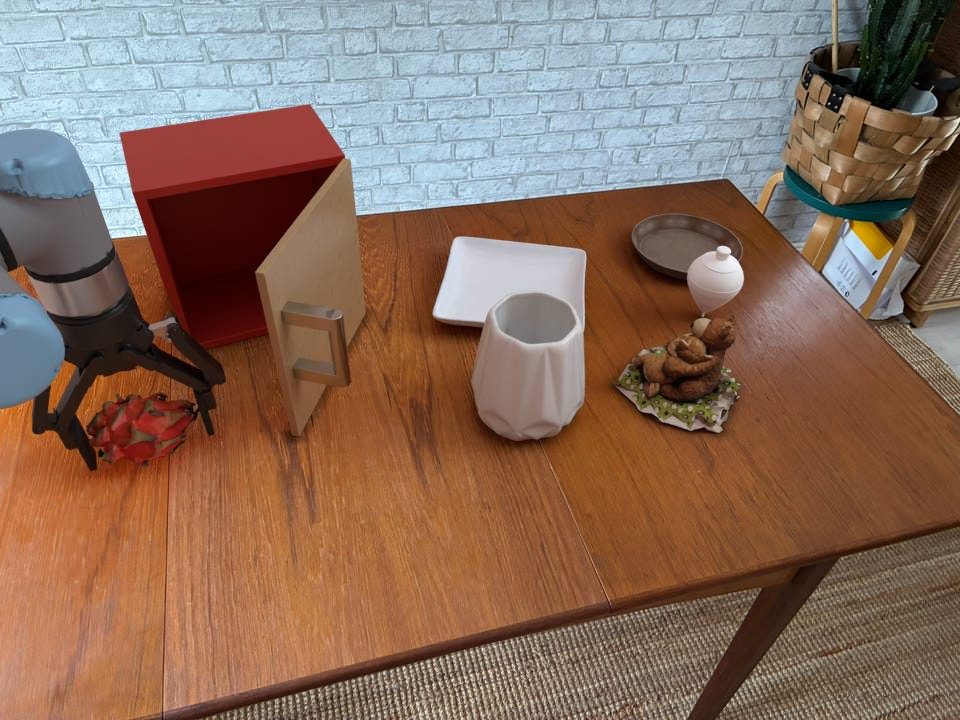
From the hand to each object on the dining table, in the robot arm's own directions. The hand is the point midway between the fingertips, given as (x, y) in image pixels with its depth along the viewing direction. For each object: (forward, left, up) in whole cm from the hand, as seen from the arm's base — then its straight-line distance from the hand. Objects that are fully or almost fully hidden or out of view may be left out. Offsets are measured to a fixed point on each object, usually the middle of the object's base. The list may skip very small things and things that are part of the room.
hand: (153, 444), depth 81 cm
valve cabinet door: (+25, +4, -1) cm, 26 cm away
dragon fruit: (0, 0, -1) cm, 1 cm away
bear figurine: (+63, -16, -2) cm, 65 cm away
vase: (+43, -11, -2) cm, 44 cm away
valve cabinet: (+18, +24, -1) cm, 30 cm away
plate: (+52, +10, -2) cm, 53 cm away
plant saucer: (+83, +9, -2) cm, 84 cm away
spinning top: (+76, -5, -2) cm, 76 cm away
